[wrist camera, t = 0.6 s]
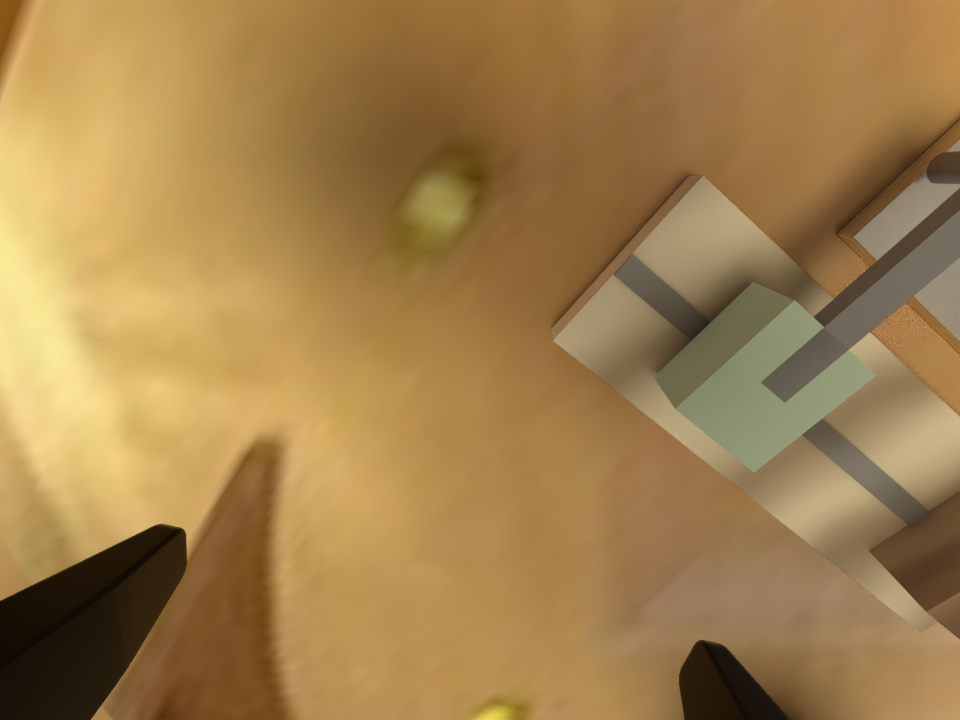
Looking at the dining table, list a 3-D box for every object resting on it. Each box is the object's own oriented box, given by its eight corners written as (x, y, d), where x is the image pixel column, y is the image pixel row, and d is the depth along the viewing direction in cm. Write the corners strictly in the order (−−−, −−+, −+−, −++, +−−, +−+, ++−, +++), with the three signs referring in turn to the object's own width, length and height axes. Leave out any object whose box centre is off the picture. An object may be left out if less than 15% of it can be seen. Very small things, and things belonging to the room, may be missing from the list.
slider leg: (992, 194, 16) (1100, 198, 13) (718, 428, 20) (753, 472, 17) (919, 114, 15) (1014, 100, 12) (650, 373, 19) (675, 408, 16)
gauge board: (1180, 436, 20) (1368, 509, 16) (897, 606, 25) (980, 701, 20) (809, 40, 16) (920, -11, 12) (550, 329, 21) (559, 371, 16)
